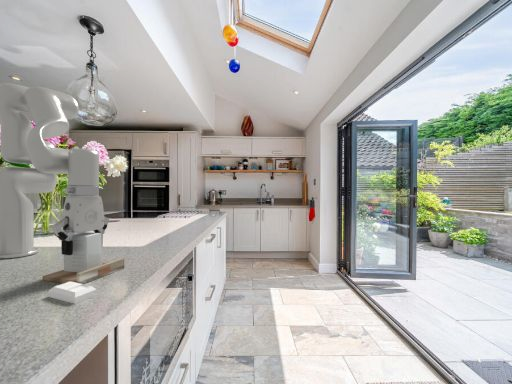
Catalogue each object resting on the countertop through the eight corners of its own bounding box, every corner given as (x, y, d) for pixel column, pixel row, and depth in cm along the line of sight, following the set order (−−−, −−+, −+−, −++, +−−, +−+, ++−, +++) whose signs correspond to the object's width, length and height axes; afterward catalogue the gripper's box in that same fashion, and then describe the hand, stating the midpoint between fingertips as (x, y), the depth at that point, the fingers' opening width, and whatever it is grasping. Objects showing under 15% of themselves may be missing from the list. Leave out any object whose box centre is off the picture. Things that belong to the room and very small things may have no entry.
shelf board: (42, 279, 70) (42, 268, 70) (91, 264, 85) (91, 254, 85) (80, 285, 67) (80, 274, 67) (124, 268, 81) (125, 258, 81)
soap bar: (70, 290, 65) (70, 279, 65) (96, 296, 61) (96, 285, 61) (48, 298, 60) (48, 287, 60) (75, 305, 57) (75, 293, 57)
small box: (102, 268, 78) (102, 232, 78) (86, 274, 73) (86, 236, 72) (80, 265, 80) (80, 231, 80) (63, 271, 74) (63, 234, 74)
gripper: (64, 193, 66) (64, 259, 67) (117, 191, 83) (117, 245, 83) (42, 192, 68) (42, 256, 69) (98, 191, 85) (98, 243, 85)
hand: (83, 250), depth 76 cm, fingers open, 9 cm apart
